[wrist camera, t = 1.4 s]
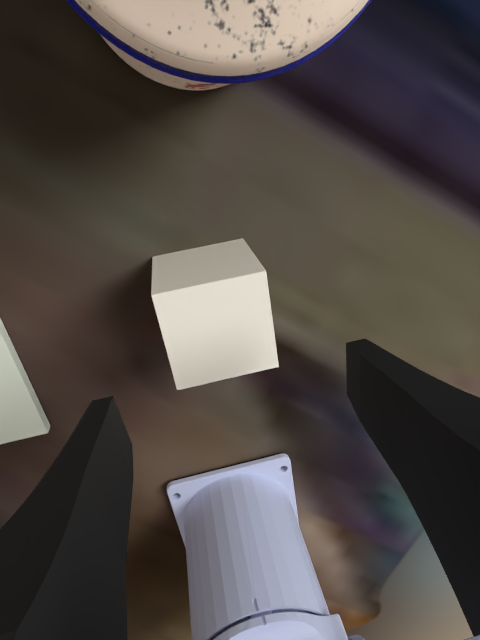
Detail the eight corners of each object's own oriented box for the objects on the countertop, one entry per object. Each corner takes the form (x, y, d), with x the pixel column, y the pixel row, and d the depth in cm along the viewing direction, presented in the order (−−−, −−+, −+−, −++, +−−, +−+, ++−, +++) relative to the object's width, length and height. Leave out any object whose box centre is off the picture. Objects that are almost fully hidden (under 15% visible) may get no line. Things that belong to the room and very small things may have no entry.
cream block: (255, 318, 23) (278, 366, 18) (173, 336, 22) (177, 390, 18) (242, 238, 21) (265, 270, 16) (152, 256, 20) (151, 294, 16)
